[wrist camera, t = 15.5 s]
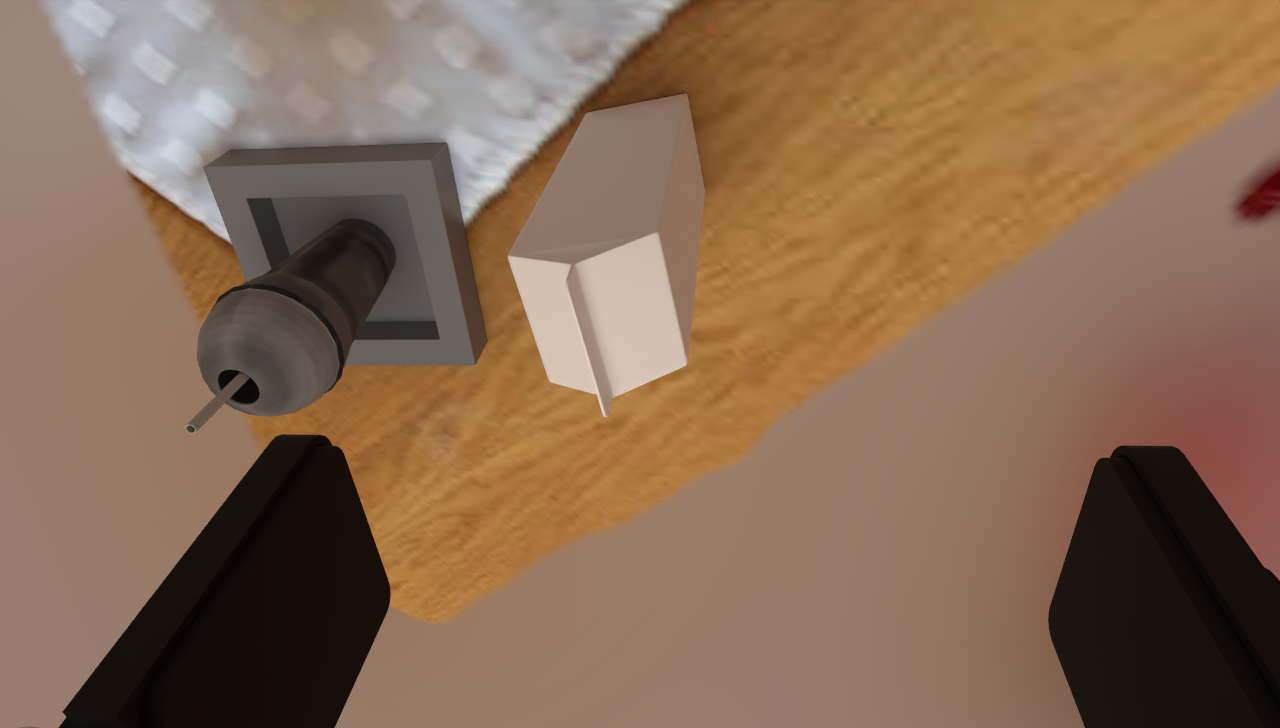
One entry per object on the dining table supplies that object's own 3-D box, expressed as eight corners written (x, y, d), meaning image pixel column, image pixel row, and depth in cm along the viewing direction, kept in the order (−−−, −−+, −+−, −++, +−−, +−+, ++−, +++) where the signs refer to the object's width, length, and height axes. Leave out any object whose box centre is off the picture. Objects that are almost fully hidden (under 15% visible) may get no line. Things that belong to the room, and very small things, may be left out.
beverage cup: (293, 264, 53) (89, 461, 37) (326, 176, 49) (116, 350, 33) (393, 318, 55) (242, 530, 38) (433, 236, 51) (285, 431, 34)
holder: (230, 150, 50) (203, 167, 47) (446, 142, 48) (430, 159, 45) (298, 341, 57) (277, 364, 55) (487, 341, 56) (475, 365, 53)
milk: (610, 207, 49) (529, 432, 31) (585, 109, 46) (478, 296, 28) (708, 191, 48) (683, 415, 30) (689, 89, 45) (649, 271, 27)
